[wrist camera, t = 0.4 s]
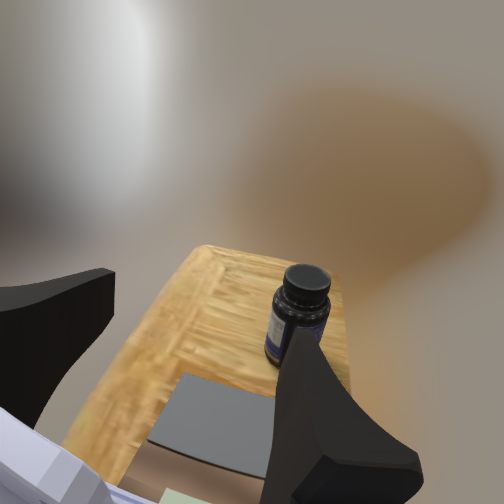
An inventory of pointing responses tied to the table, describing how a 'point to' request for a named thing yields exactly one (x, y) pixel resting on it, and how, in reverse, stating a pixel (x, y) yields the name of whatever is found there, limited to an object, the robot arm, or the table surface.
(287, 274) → the pill bottle
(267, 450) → the mat
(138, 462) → the pocket board
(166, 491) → the sage block
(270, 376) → the table surface
